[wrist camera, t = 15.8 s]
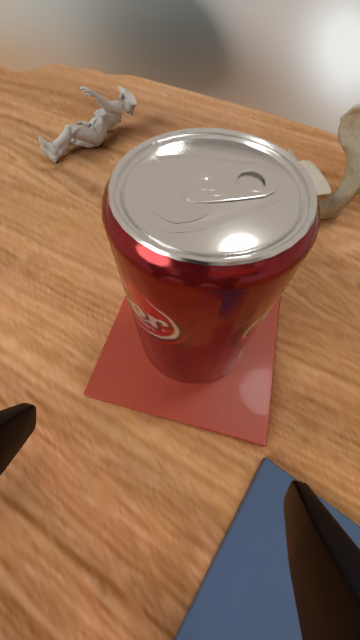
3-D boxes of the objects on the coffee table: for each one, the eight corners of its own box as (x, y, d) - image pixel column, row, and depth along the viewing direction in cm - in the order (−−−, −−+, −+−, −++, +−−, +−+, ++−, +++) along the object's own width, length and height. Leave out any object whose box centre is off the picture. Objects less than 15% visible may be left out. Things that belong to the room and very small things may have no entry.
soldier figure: (40, 158, 31) (100, 86, 32) (75, 189, 33) (130, 121, 34) (34, 130, 24) (111, 39, 25) (79, 172, 26) (148, 87, 27)
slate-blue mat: (386, 900, 9) (397, 922, 9) (164, 657, 12) (164, 665, 11) (440, 587, 13) (449, 592, 12) (263, 457, 16) (266, 457, 15)
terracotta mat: (264, 446, 16) (266, 446, 15) (85, 395, 17) (82, 394, 17) (279, 291, 21) (281, 287, 21) (142, 261, 23) (141, 257, 22)
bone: (241, 215, 23) (305, 70, 18) (251, 209, 28) (302, 96, 23) (333, 254, 22) (433, 111, 16) (325, 240, 27) (398, 128, 22)
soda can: (142, 390, 17) (83, 281, 6) (142, 297, 20) (104, 124, 10) (250, 382, 17) (371, 267, 6) (232, 292, 20) (293, 119, 10)
